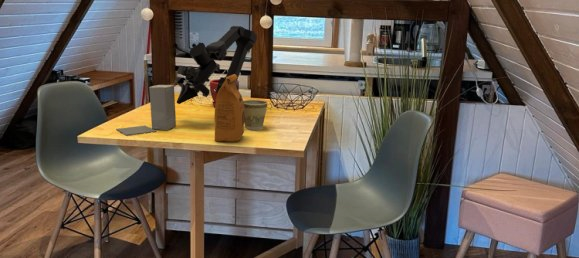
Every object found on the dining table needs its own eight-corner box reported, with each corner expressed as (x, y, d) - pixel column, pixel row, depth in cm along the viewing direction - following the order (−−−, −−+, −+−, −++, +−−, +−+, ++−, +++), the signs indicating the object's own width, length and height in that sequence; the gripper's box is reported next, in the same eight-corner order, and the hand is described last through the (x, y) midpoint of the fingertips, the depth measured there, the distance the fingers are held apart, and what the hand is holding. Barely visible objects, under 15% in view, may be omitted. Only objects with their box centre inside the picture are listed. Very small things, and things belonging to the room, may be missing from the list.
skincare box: (167, 130, 188) (166, 87, 185) (149, 129, 190) (148, 86, 186) (177, 126, 196) (176, 84, 193) (159, 124, 198) (158, 83, 194)
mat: (145, 126, 194) (145, 125, 194) (156, 132, 186) (156, 130, 186) (116, 129, 187) (116, 128, 187) (126, 135, 180) (126, 134, 179)
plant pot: (231, 102, 246) (231, 77, 243) (243, 108, 235) (243, 81, 232) (205, 104, 239) (205, 79, 236) (216, 110, 228) (216, 83, 225)
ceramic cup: (256, 132, 190) (257, 105, 188) (235, 128, 195) (235, 102, 193) (276, 126, 201) (277, 100, 199) (255, 122, 206) (255, 97, 204)
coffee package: (248, 135, 185) (249, 74, 180) (238, 144, 173) (239, 78, 168) (221, 133, 187) (221, 72, 182) (210, 142, 175) (210, 77, 170)
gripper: (178, 55, 201) (152, 85, 197) (202, 60, 187) (174, 92, 183) (197, 74, 208) (172, 104, 203) (221, 80, 193) (194, 112, 189)
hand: (177, 103), depth 194 cm, fingers closed
